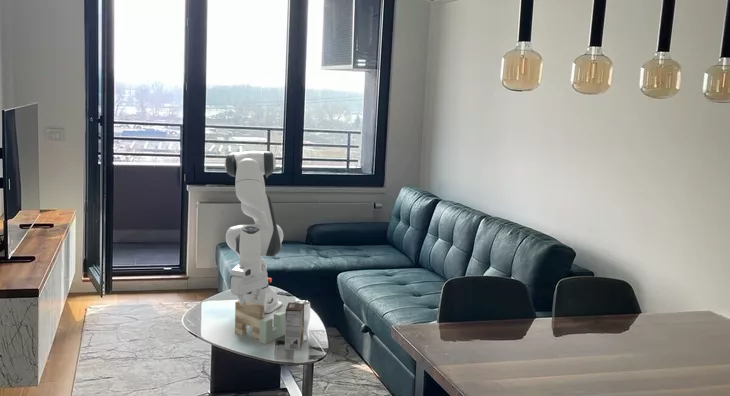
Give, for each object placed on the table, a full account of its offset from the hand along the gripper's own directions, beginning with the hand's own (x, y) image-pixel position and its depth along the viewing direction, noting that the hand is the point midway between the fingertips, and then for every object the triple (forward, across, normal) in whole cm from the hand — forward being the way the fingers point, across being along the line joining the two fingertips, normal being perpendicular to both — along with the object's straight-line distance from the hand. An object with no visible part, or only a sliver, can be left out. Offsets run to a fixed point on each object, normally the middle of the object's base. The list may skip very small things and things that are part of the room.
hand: (249, 301), depth 276 cm
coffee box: (+14, 0, +21) cm, 26 cm away
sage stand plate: (+14, -3, +10) cm, 17 cm away
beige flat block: (+14, -1, 0) cm, 14 cm away
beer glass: (+14, -8, +19) cm, 25 cm away
